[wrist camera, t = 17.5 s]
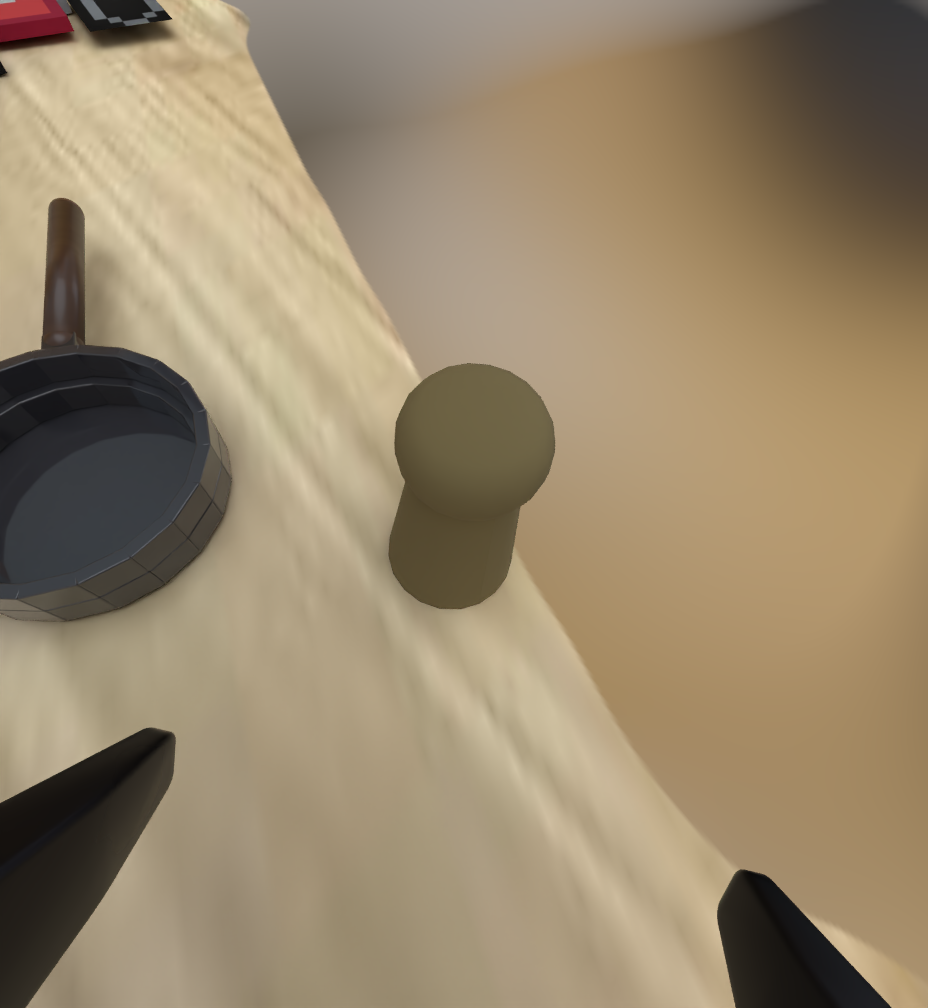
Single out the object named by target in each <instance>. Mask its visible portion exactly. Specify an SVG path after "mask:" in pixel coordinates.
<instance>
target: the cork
mask: <svg viewBox="0 0 928 1008" xmlns="http://www.w3.org/2000/svg"><path fill="white" fill-rule="evenodd" d="M394 444H395V455H396V458H397V461H398V465H399V468H400V471H401V474H402V476H403V478H404V480H405V485H404V489H403V492H402V496H401V499H400V503H399V506H398V510H397V514H396V517H395V521H394V524H393V528H392V532H391V535H390V543H389V559H390V562H391V566H392V570H393V573H394V575H395V576H396V578H397V579H398V581H399V582H400V584H401V585H402V587H403V588H404V589H405V590H406V591H407V592H408V593H410V594H411V595H412V596H414V597H415V598H416V599H418V600H419V601H420V602H423V603H426V604H429V605H432V606H434V607H437V608H443V609H462V608H465V607H469V606H472V605H475V604H479V603H481V602H482V601H483V600H485V599H486V598H488V597H489V596H491V595H492V594H493V593H495V592H496V590H497V589H498V588H499V586H500V585H501V584H502V582H503V581H504V579H505V578H506V576H507V572H508V569H509V566H510V562H511V558H512V552H513V546H514V540H515V534H516V528H517V523H518V516H519V510H520V506H522V505H523V504H524V503H526V502H527V501H528V500H530V499H531V498H532V497H533V496H534V494H535V493H536V492H537V490H538V489H539V488H540V486H541V485H542V484H543V482H544V481H545V479H546V477H547V475H548V474H549V470H550V467H551V464H552V460H553V457H554V453H555V437H554V426H553V421H552V419H551V417H550V415H549V413H548V411H547V408H546V406H545V404H544V402H543V401H542V399H541V397H540V396H539V395H538V394H537V393H536V391H535V390H534V389H533V388H532V387H531V386H530V385H529V384H528V383H527V382H526V381H524V380H523V379H521V378H519V377H518V376H516V375H514V374H513V373H511V372H510V371H507V370H504V369H501V368H497V367H494V366H491V365H484V364H471V363H467V364H461V365H456V366H450V367H447V368H445V369H442V370H440V371H438V372H436V373H434V374H432V375H430V376H429V377H427V378H426V379H425V380H423V381H422V382H421V383H420V384H419V385H418V386H417V387H416V388H415V389H414V390H413V391H412V392H411V393H410V394H409V395H408V397H407V399H406V401H405V403H404V405H403V407H402V409H401V411H400V413H399V416H398V418H397V421H396V429H395V442H394Z"/></svg>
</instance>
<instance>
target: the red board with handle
mask: <svg viewBox="0 0 928 1008" xmlns="http://www.w3.org/2000/svg"><path fill="white" fill-rule="evenodd" d="M67 1H68V2H69V3H70V5H71V6H72V7H73V9H74V10H75V12H76V13H77V14H78V16H79V17H80V18H81V20H82V21H83V23H84V24H85V25H86V27H87V28H88V29H89V31H90V32H91V31H98V30H105V29H111V28H118V27H124V26H131V25H138V24H144V23H151V22H157V21H164V20H171V19H172V18H171V17H170V16H169V15H168V14H167V12H166V11H165V10H164V9H163V8H162V7H161V6H160V4H159V3H158V2H157V1H156V0H0V42H5V41H11V40H18V39H25V38H31V37H38V36H45V35H51V34H58V33H65V32H72V31H74V30H73V28H72V25H71V23H70V21H69V19H68V17H67V15H66V14H70V13H72V11H71V9H70V6H69V4H68V2H67ZM4 73H7V72H6V70H5V69H4V67H3V65H2V63H1V62H0V74H4Z"/></svg>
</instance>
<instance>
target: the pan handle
mask: <svg viewBox="0 0 928 1008" xmlns="http://www.w3.org/2000/svg"><path fill="white" fill-rule="evenodd" d="M71 345H85V217H84V214H83V211H82V210H81V208H80V207H79V206H78V205H77V204H76V203H74V202H73V201H71V200H69V199H66V198H57V199H54V200H53V201H52V202H51V203H50V205H49V209H48V231H47V253H46V275H45V297H44V319H43V336H42V342H41V350H42V349H49V348H57V347H64V346H71Z"/></svg>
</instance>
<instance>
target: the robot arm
mask: <svg viewBox="0 0 928 1008" xmlns="http://www.w3.org/2000/svg"><path fill="white" fill-rule="evenodd" d="M175 744H176V738H175V735H174V734H173V733H172V732H169V731H165V730H161V729H157V728H146V729H143V730H141V731H139V732H137V733H135V734H133V735H131V736H129V737H127V738H125V739H123V740H121V741H119V742H118V743H116V744H114V745H112V746H110V747H108V748H106V749H104V750H102V751H100V752H98V753H96V754H94V755H92V756H90V757H89V758H87V759H85V760H83V761H81V762H79V763H77V764H75V765H73V766H71V767H69V768H67V769H65V770H63V771H61V772H60V773H58V774H56V775H54V776H52V777H50V778H48V779H46V780H44V781H42V782H40V783H38V784H36V785H34V786H32V787H31V788H29V789H27V790H25V791H23V792H21V793H19V794H17V795H15V796H13V797H11V798H9V799H7V800H5V801H3V802H2V803H0V1008H26V1006H27V1005H28V1004H29V1002H30V1001H31V999H32V998H33V996H34V995H35V994H36V992H37V991H38V989H39V988H40V987H41V985H42V984H43V982H44V981H45V980H46V978H47V977H48V975H49V974H50V973H51V971H52V970H53V968H54V967H55V966H56V964H57V963H58V961H59V960H60V959H61V957H62V956H63V954H64V953H65V951H66V950H67V949H68V947H69V946H70V944H71V943H72V942H73V940H74V939H75V937H76V936H77V935H78V933H79V932H80V930H81V929H82V928H83V926H84V925H85V923H86V922H87V921H88V919H89V918H90V916H91V915H92V913H93V912H94V910H95V909H96V907H97V906H98V904H99V903H100V902H101V900H102V899H103V897H104V895H105V894H106V892H107V891H108V889H109V887H110V886H111V884H112V882H113V881H114V879H115V878H116V876H117V874H118V872H119V871H120V869H121V867H122V866H123V864H124V862H125V861H126V859H127V857H128V856H129V854H130V852H131V850H132V849H133V847H134V845H135V844H136V842H137V840H138V839H139V837H140V835H141V834H142V832H143V830H144V828H145V827H146V825H147V823H148V822H149V820H150V818H151V817H152V815H153V813H154V812H155V810H156V808H157V806H158V805H159V803H160V801H161V800H162V798H163V796H164V795H165V793H166V791H167V789H168V787H169V785H170V783H171V780H172V777H173V772H174V759H175ZM717 919H718V926H719V931H720V935H721V940H722V945H723V950H724V954H725V959H726V964H727V969H728V973H729V978H730V983H731V988H732V992H733V997H734V1002H735V1007H736V1008H891V1007H890V1005H889V1004H888V1003H887V1002H886V1001H885V1000H884V999H883V998H882V997H881V996H880V995H879V994H878V993H877V992H876V991H875V989H874V988H873V987H872V986H871V985H870V984H869V983H868V982H867V981H866V980H865V979H864V978H863V977H862V976H861V975H860V973H859V972H858V971H857V970H856V969H855V968H854V967H853V966H852V965H851V964H850V963H849V962H848V961H847V960H846V959H845V957H844V956H843V955H842V954H841V953H840V952H839V951H838V950H837V949H836V948H835V947H834V946H833V945H832V944H831V943H830V941H829V940H828V939H827V938H826V937H825V936H824V935H823V934H822V933H821V932H820V931H819V930H818V929H817V928H816V927H815V925H814V924H813V923H812V922H811V921H810V920H809V919H808V918H807V917H806V916H805V915H804V914H803V913H802V912H801V911H800V909H799V908H798V907H797V906H796V905H795V904H794V903H793V902H792V901H791V900H790V899H789V898H788V897H787V896H786V895H785V894H784V892H783V891H782V890H781V889H780V888H779V887H778V886H777V885H776V884H775V883H774V882H773V881H772V880H771V879H770V878H769V877H767V876H765V875H763V874H760V873H755V872H752V871H748V870H739V871H737V872H736V873H735V874H734V876H733V878H732V880H731V881H730V883H729V885H728V887H727V889H726V891H725V893H724V895H723V896H722V898H721V900H720V902H719V905H718V910H717Z"/></svg>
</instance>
